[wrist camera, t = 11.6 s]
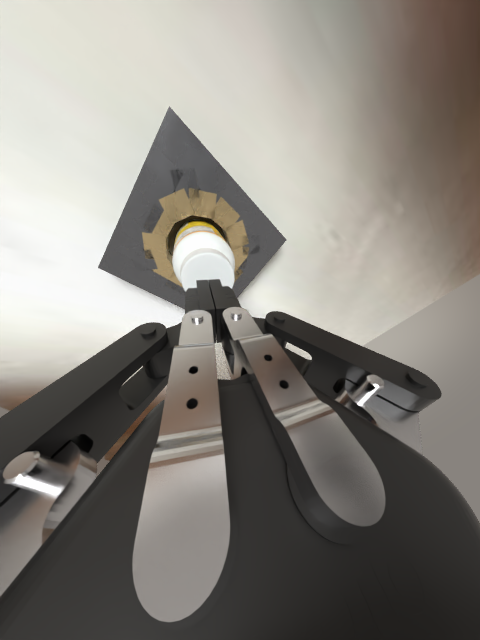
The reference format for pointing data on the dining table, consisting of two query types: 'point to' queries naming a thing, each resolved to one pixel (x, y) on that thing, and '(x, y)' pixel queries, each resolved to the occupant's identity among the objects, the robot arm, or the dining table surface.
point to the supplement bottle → (202, 255)
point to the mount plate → (185, 215)
